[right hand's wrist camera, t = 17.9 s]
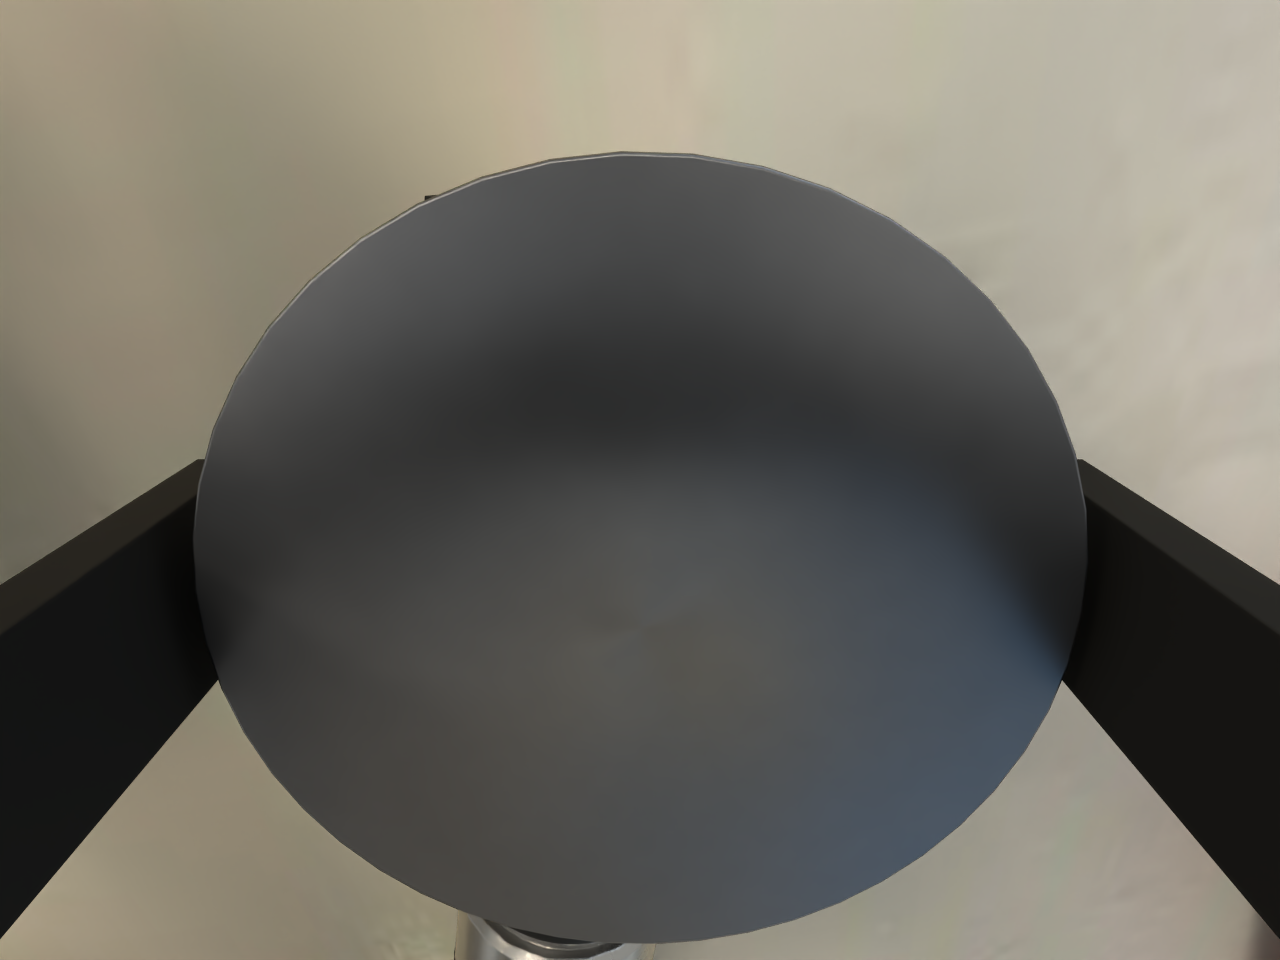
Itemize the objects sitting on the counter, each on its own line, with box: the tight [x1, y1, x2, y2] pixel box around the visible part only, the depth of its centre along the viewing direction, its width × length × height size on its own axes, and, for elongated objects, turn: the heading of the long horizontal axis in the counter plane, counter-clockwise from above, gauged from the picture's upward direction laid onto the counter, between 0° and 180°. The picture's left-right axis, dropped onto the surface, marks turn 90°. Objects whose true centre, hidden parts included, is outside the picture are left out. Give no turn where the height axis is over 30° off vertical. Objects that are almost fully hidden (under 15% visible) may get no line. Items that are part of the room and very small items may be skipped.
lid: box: [193, 151, 1088, 944], centre depth 11 cm, size 11×11×2 cm
